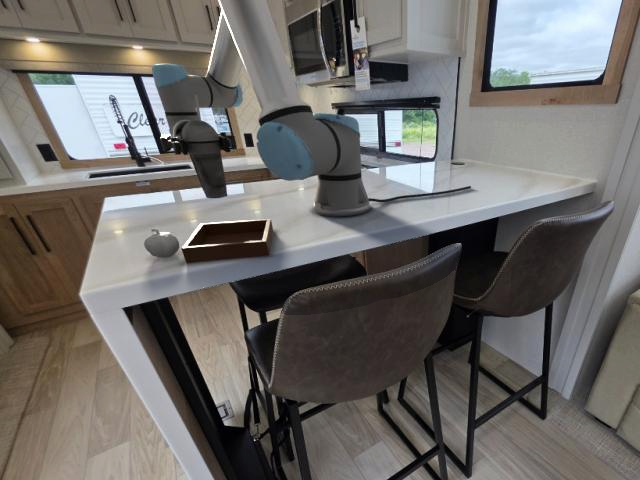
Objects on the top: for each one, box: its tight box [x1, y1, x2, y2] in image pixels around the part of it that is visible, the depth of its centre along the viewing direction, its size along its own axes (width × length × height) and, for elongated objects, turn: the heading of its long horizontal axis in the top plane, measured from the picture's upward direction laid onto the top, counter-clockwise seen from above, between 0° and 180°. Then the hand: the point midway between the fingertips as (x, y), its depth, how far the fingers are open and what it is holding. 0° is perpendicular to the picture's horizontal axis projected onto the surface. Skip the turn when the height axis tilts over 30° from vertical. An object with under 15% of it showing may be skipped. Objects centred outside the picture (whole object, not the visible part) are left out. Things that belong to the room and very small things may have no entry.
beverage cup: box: [182, 95, 228, 199], centre depth 71 cm, size 7×7×20 cm
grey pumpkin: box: [143, 228, 180, 259], centre depth 63 cm, size 6×5×5 cm
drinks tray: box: [180, 218, 274, 264], centre depth 68 cm, size 15×15×3 cm
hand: (206, 146), depth 67 cm, fingers closed on beverage cup, 7 cm apart
